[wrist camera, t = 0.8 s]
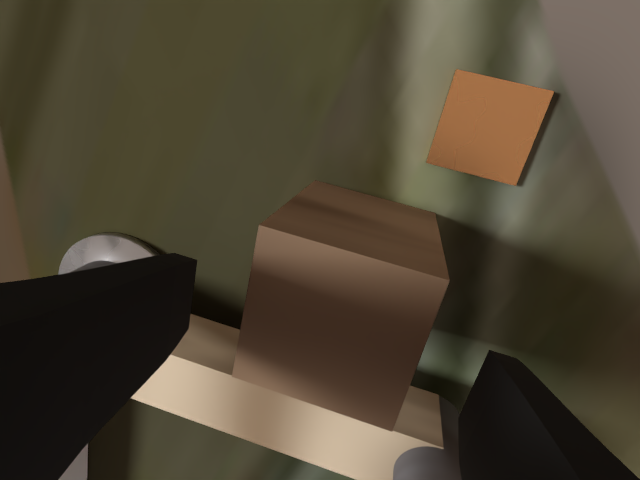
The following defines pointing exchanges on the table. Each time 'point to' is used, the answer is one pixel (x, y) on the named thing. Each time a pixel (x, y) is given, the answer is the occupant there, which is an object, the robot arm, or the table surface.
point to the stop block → (342, 301)
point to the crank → (299, 414)
